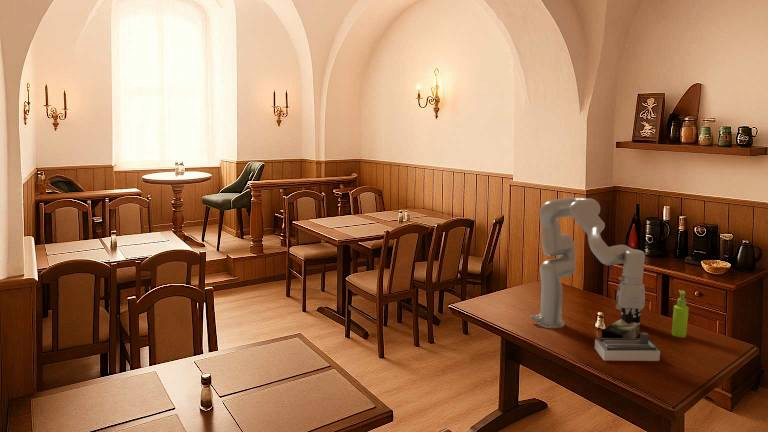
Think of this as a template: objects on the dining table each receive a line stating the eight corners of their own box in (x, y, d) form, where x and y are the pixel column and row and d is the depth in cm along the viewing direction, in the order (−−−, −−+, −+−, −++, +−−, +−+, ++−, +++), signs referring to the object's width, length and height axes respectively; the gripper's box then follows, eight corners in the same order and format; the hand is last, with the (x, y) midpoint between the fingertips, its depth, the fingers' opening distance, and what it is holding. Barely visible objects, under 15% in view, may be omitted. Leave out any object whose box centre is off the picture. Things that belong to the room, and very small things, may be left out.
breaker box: (603, 360, 234) (604, 348, 233) (594, 348, 245) (595, 336, 244) (659, 360, 233) (660, 348, 232) (647, 348, 244) (648, 337, 243)
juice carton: (618, 329, 267) (619, 316, 265) (640, 334, 260) (641, 322, 259) (600, 342, 253) (600, 329, 251) (622, 349, 246) (623, 335, 245)
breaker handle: (642, 346, 237) (642, 334, 236) (639, 344, 239) (640, 332, 238) (648, 346, 237) (648, 334, 236) (645, 344, 239) (646, 332, 238)
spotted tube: (642, 327, 267) (645, 286, 264) (624, 327, 268) (627, 286, 264) (635, 321, 276) (638, 280, 272) (617, 321, 276) (620, 281, 272)
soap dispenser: (684, 332, 261) (688, 290, 258) (687, 338, 255) (691, 294, 251) (670, 330, 263) (673, 288, 260) (672, 336, 257) (676, 293, 253)
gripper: (616, 282, 230) (612, 325, 234) (654, 283, 229) (650, 326, 233) (610, 276, 237) (606, 318, 241) (647, 277, 237) (642, 319, 240)
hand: (627, 322), depth 237 cm, fingers closed
